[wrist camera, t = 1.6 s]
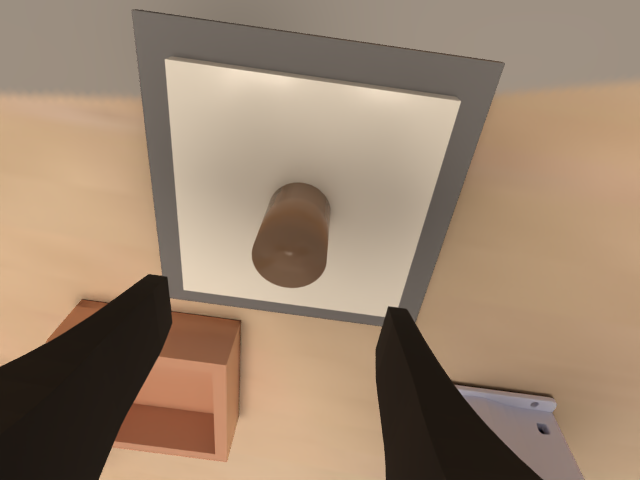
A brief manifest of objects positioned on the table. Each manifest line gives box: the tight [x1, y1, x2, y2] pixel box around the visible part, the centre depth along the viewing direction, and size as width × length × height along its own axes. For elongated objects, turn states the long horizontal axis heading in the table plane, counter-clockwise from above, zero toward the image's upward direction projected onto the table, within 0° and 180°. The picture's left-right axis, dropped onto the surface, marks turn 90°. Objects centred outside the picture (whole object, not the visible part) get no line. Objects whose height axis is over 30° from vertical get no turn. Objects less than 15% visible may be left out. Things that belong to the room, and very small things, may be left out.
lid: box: [165, 56, 461, 317], centre depth 18 cm, size 12×12×5 cm
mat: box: [132, 9, 505, 326], centre depth 20 cm, size 15×15×1 cm
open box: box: [46, 300, 241, 462], centre depth 26 cm, size 10×10×4 cm
